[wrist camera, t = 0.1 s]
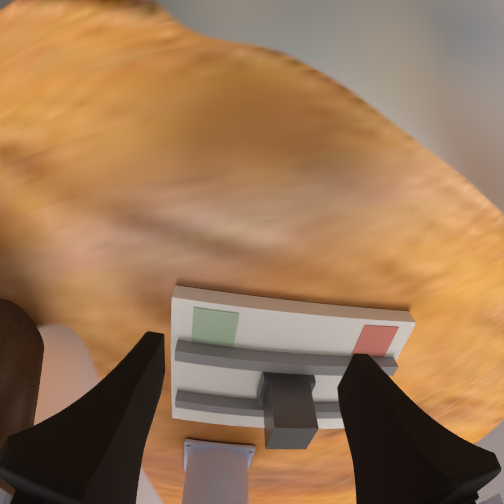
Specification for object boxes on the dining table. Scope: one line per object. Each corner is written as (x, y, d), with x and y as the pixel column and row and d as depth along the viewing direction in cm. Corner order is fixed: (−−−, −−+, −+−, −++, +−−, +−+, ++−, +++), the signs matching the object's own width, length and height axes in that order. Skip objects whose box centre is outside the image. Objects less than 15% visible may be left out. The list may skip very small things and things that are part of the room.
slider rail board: (350, 416, 28) (356, 436, 26) (174, 405, 27) (170, 427, 25) (408, 311, 23) (422, 331, 20) (176, 285, 21) (167, 307, 19)
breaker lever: (303, 395, 24) (312, 448, 19) (256, 393, 24) (258, 448, 19) (313, 372, 23) (325, 428, 18) (263, 368, 23) (266, 427, 18)
